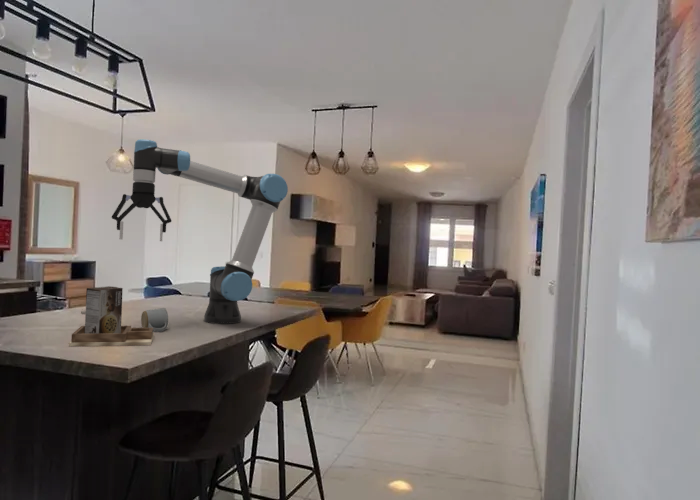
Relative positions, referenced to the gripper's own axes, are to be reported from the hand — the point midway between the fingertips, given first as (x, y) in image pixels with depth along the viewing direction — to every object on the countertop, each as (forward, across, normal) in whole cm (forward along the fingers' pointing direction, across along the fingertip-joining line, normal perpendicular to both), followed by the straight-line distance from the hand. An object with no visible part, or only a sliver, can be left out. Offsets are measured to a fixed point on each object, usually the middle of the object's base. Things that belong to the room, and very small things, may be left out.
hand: (141, 240), depth 184 cm
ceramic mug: (+33, -7, 0) cm, 34 cm away
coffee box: (+32, +8, +21) cm, 39 cm away
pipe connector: (+33, +15, -7) cm, 37 cm away
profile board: (+33, +5, +21) cm, 39 cm away
